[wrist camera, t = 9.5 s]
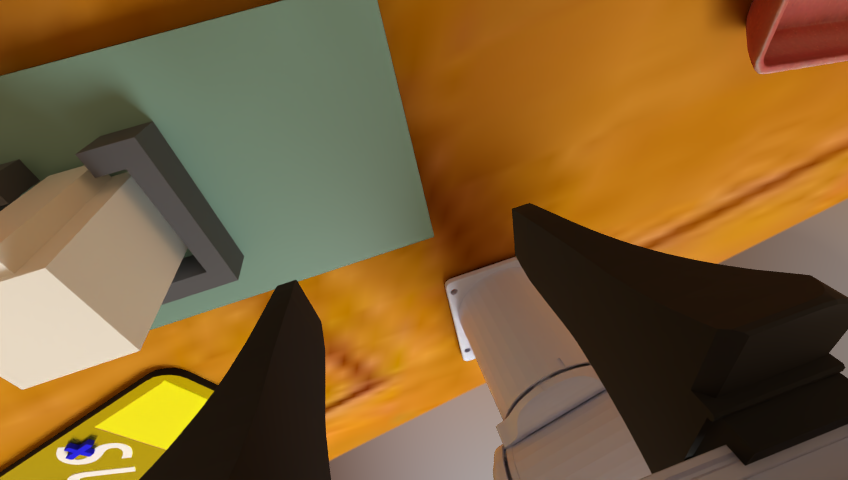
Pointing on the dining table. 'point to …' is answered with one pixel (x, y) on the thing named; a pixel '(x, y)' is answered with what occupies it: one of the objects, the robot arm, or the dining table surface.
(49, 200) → the keyed plug
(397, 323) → the dining table surface
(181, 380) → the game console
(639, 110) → the dining table surface
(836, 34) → the plant saucer
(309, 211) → the board
